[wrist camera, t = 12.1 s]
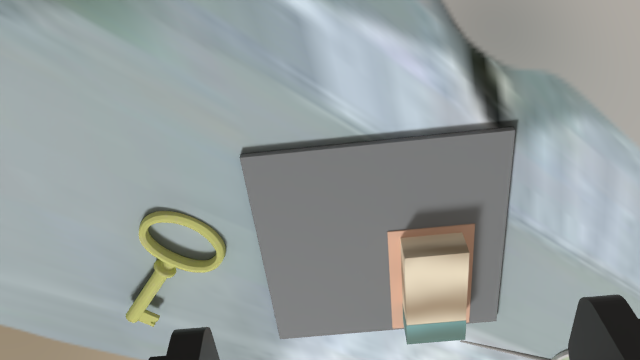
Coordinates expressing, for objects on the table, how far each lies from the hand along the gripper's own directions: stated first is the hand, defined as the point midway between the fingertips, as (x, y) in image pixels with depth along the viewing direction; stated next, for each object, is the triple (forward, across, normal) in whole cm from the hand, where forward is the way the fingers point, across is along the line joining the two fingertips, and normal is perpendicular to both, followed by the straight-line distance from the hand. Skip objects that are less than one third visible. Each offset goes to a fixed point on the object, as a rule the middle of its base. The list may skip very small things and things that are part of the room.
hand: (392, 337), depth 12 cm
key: (+28, +16, +21) cm, 38 cm away
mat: (+27, -2, +21) cm, 34 cm away
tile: (+26, -6, +25) cm, 37 cm away
